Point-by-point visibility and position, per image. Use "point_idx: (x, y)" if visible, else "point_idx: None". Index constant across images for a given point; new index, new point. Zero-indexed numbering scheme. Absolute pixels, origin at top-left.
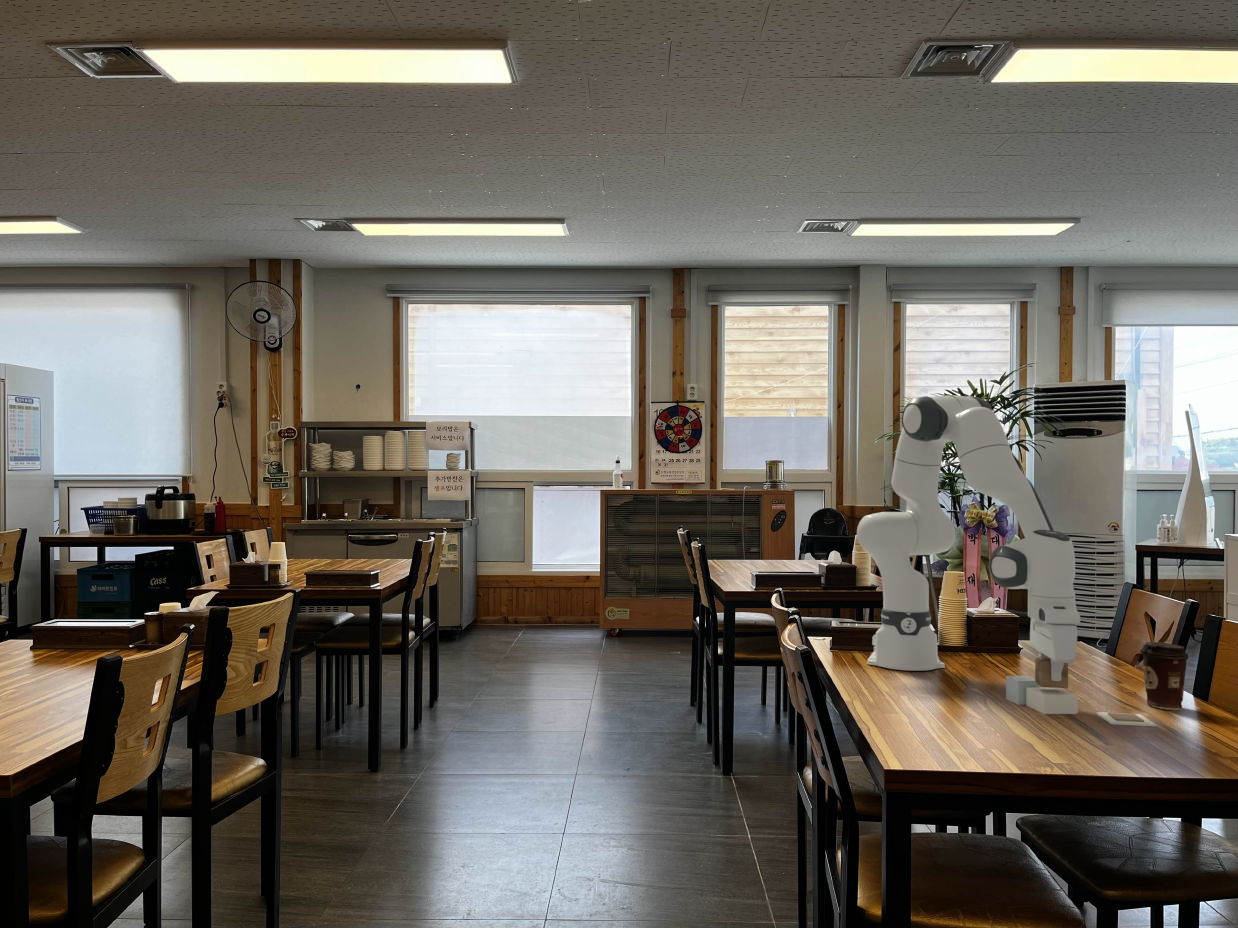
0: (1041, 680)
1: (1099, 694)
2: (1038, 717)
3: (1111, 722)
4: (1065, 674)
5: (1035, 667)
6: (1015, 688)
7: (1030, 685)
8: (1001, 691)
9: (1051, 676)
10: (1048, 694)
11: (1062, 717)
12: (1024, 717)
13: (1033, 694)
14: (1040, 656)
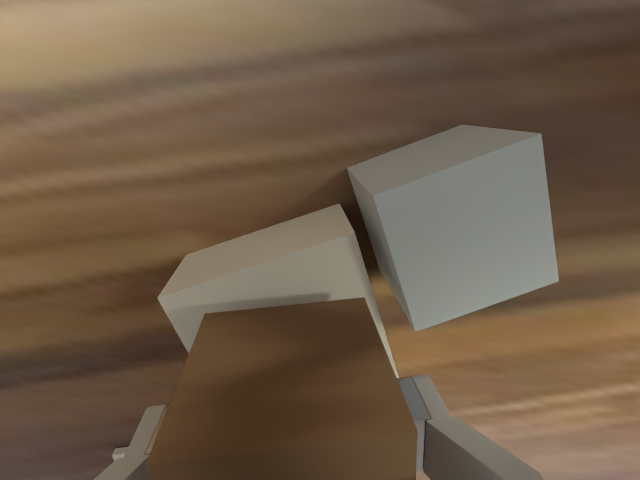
0: (198, 338)
1: (581, 466)
2: (91, 221)
3: (113, 455)
4: None
5: (379, 361)
6: (393, 171)
7: (388, 261)
8: (630, 127)
9: (151, 420)
10: (190, 322)
11: (146, 316)
12: (52, 154)
13: (272, 251)
14: (498, 474)
